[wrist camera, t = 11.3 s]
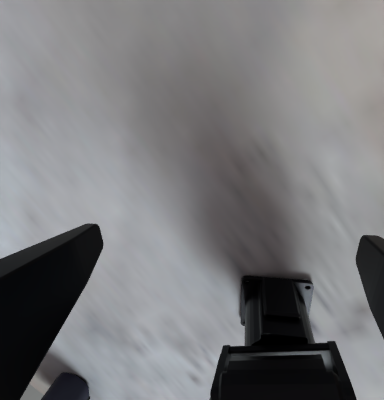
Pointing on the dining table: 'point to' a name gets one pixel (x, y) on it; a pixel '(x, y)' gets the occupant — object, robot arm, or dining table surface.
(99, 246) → the robot arm
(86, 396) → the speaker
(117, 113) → the dining table surface
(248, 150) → the dining table surface
